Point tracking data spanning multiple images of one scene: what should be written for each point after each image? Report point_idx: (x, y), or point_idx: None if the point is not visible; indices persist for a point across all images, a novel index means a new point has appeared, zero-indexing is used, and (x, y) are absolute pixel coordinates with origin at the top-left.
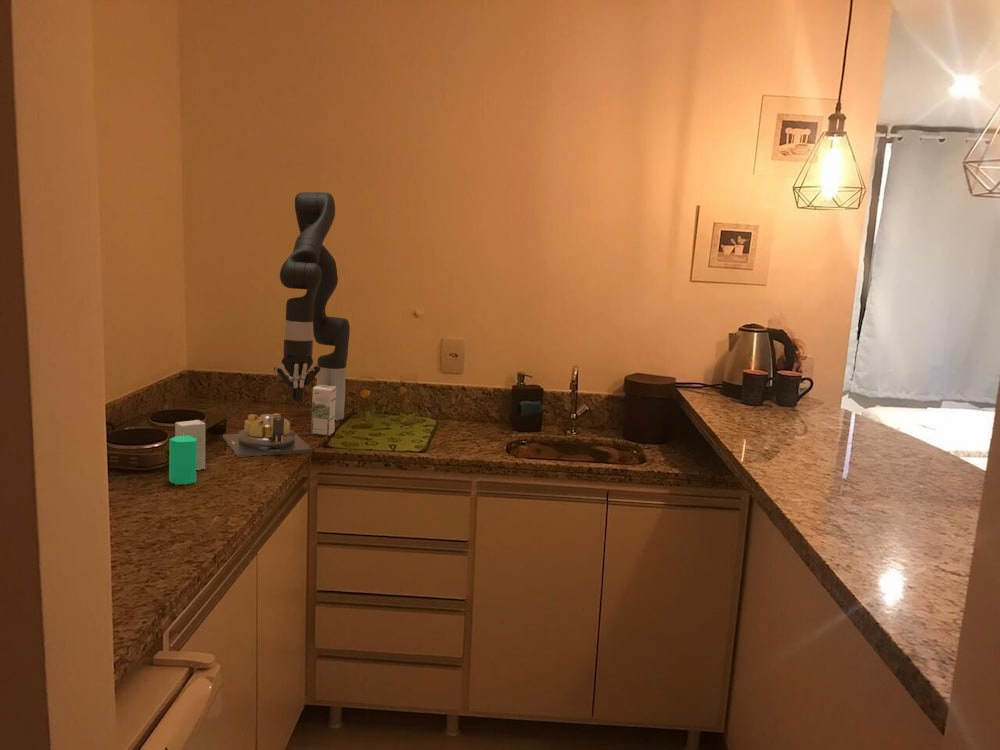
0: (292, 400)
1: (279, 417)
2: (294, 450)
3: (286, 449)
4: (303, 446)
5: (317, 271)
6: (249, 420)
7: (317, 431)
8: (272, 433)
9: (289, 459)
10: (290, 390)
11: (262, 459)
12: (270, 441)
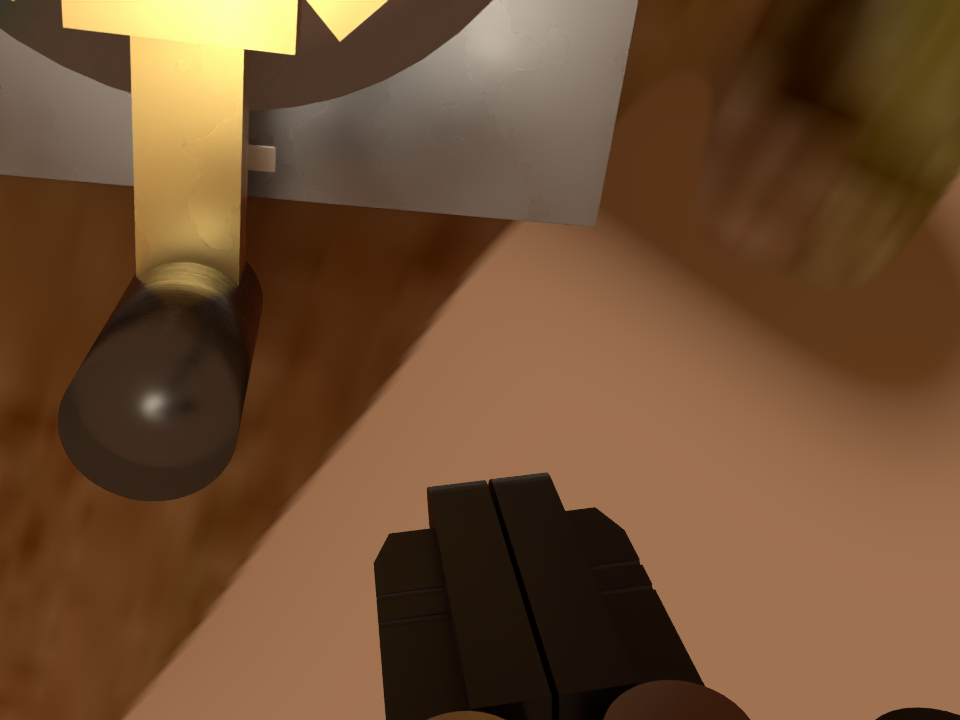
0: (428, 501)
1: (180, 370)
2: (413, 210)
3: (343, 164)
4: (553, 113)
5: None
6: None
7: None
8: (136, 226)
9: (302, 355)
10: (384, 681)
11: (52, 281)
12: None
